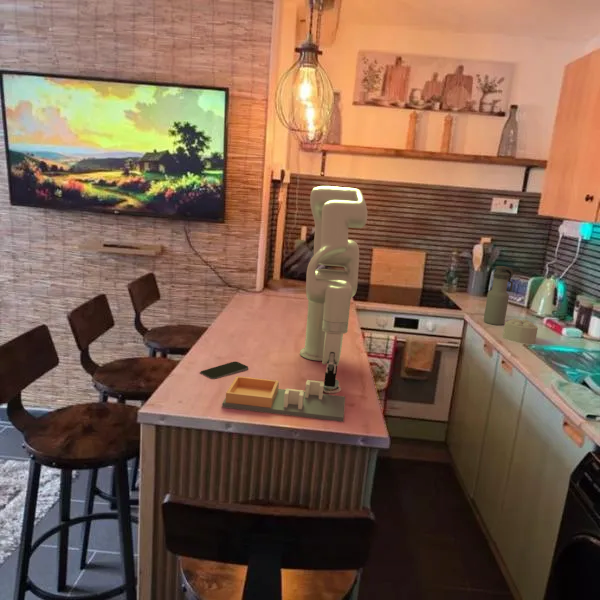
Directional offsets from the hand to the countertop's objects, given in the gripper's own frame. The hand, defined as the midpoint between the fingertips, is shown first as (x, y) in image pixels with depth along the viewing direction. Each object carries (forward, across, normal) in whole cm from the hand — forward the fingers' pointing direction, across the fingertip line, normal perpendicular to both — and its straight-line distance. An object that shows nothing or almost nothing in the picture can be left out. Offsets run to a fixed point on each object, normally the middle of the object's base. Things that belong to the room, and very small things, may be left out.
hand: (330, 380), depth 158 cm
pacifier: (+4, 0, 0) cm, 4 cm away
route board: (+4, +13, -12) cm, 18 cm away
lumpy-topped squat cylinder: (+2, -81, +80) cm, 114 cm away
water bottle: (+1, -108, +75) cm, 131 cm away
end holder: (+2, +13, -21) cm, 25 cm away
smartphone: (+4, -6, -34) cm, 35 cm away
